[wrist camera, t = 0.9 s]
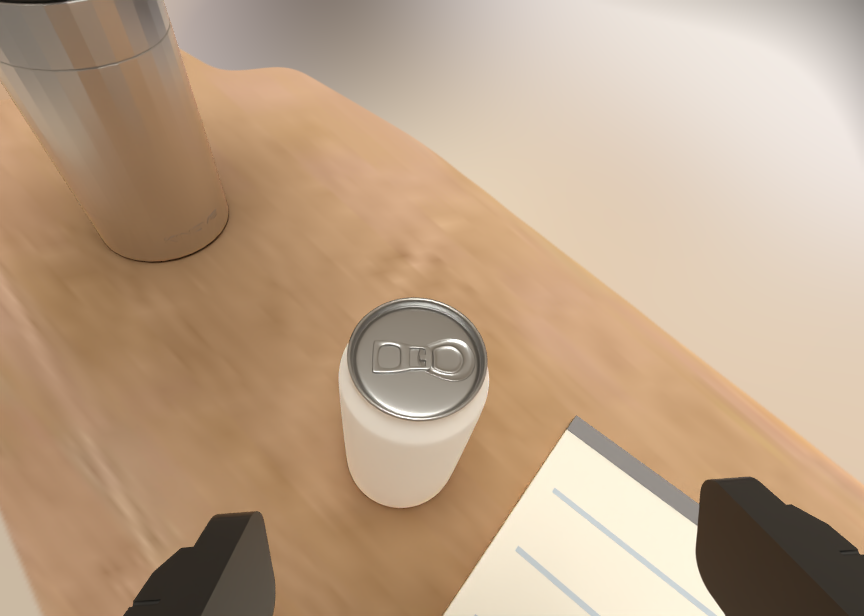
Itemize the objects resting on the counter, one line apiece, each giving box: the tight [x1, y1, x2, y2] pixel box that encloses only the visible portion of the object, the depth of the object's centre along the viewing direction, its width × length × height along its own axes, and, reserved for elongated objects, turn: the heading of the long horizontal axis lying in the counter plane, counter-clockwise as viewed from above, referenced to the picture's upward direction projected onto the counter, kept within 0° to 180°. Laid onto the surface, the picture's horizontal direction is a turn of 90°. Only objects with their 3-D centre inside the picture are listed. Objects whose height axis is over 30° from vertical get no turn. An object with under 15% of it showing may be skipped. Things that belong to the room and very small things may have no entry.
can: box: [339, 298, 489, 508], centre depth 24 cm, size 6×6×12 cm
